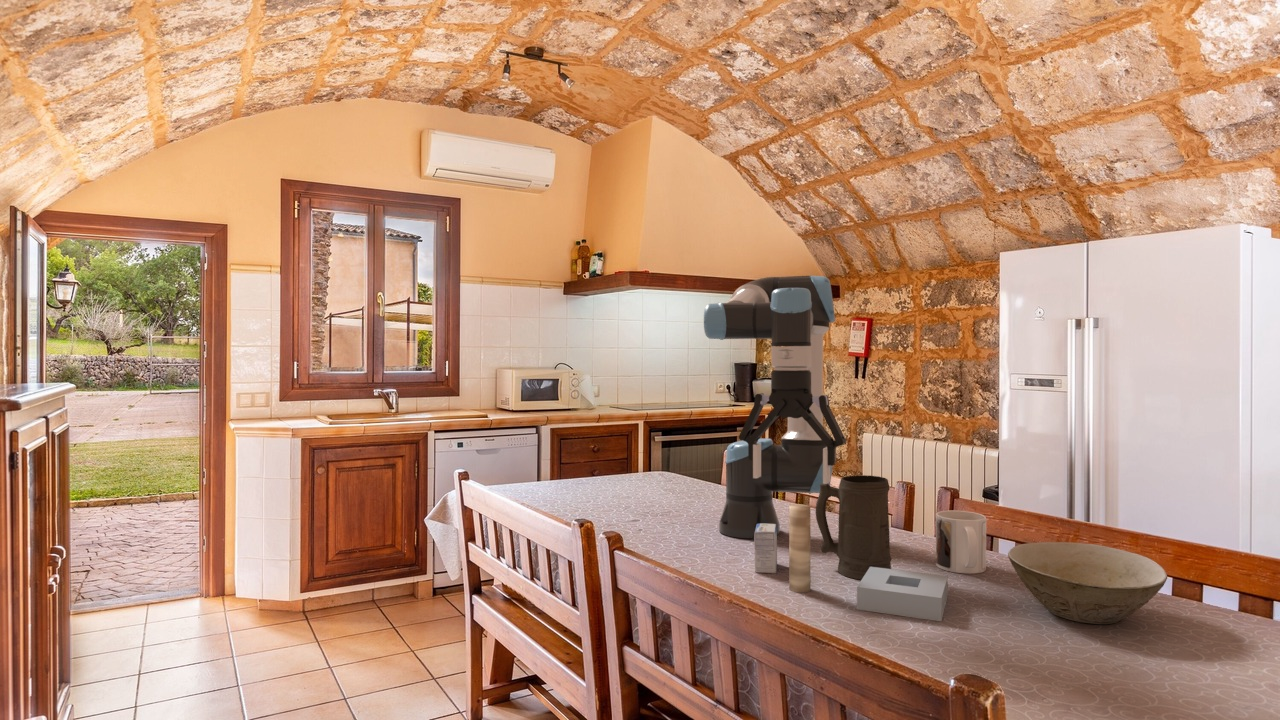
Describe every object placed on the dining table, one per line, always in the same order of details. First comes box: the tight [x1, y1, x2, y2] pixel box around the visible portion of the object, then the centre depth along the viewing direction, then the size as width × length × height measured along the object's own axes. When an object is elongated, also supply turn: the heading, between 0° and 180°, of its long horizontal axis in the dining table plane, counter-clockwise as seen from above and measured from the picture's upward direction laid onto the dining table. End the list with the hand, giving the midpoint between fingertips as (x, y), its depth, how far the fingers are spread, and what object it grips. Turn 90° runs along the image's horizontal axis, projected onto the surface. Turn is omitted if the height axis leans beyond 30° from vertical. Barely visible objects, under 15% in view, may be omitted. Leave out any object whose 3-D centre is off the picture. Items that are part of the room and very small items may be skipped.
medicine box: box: [753, 523, 778, 574], centre depth 162 cm, size 8×4×9 cm, turn 168°
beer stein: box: [815, 474, 892, 581], centre depth 159 cm, size 15×11×20 cm
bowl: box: [1007, 541, 1168, 625], centre depth 133 cm, size 24×24×10 cm
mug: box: [935, 509, 987, 575], centre depth 161 cm, size 10×12×11 cm
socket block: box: [856, 567, 949, 622], centre depth 139 cm, size 14×14×4 cm
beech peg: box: [788, 503, 812, 593], centre depth 147 cm, size 4×4×16 cm
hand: (791, 480), depth 147 cm, fingers open, 13 cm apart
